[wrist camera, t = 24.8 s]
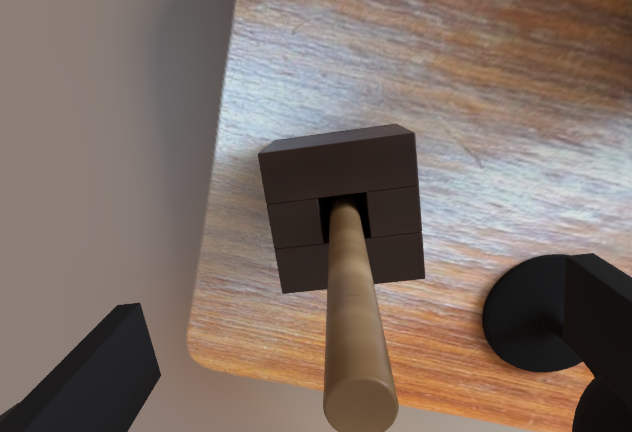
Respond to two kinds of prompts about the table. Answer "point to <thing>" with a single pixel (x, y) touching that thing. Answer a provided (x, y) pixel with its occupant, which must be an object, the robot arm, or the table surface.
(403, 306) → the table surface
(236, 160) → the table surface
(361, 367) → the stick
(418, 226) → the stand
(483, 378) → the table surface
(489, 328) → the wine glass
